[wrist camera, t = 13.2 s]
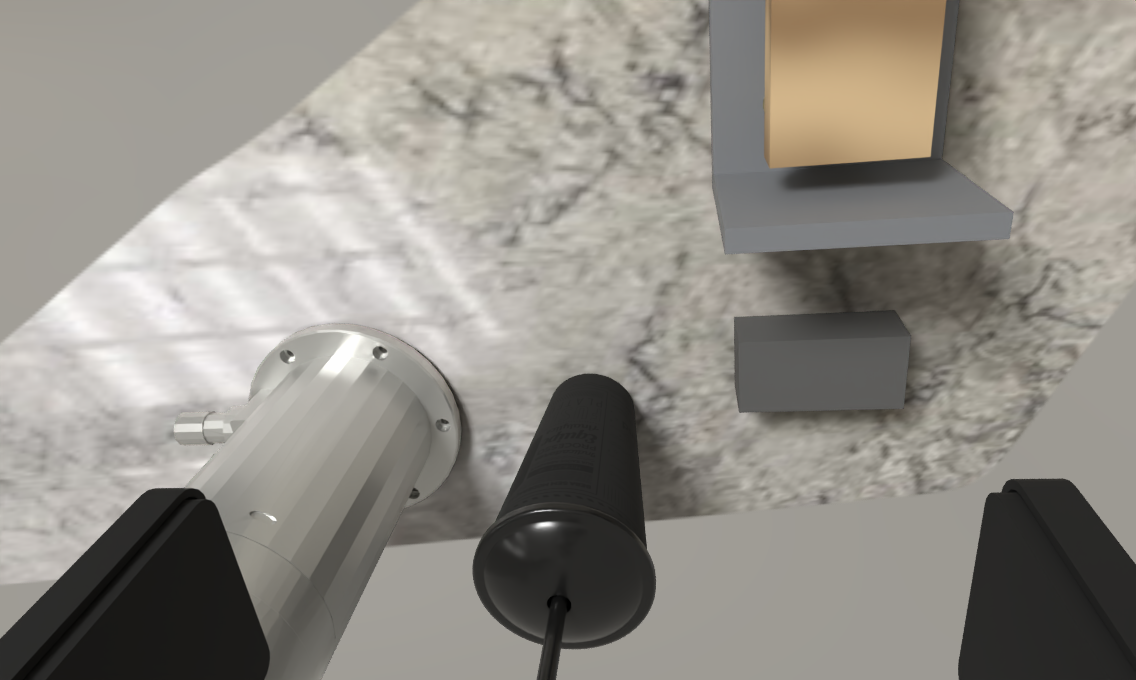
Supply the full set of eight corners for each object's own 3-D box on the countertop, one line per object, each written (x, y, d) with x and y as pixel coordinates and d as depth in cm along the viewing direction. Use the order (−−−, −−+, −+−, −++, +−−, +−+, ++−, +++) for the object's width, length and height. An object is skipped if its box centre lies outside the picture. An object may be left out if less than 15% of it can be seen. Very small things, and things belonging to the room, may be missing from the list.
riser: (734, 383, 42) (739, 412, 39) (734, 317, 40) (739, 342, 38) (888, 379, 41) (903, 408, 38) (894, 310, 39) (911, 336, 37)
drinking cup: (539, 470, 46) (458, 790, 28) (513, 358, 43) (404, 640, 25) (666, 461, 45) (665, 791, 27) (650, 344, 42) (637, 632, 24)
